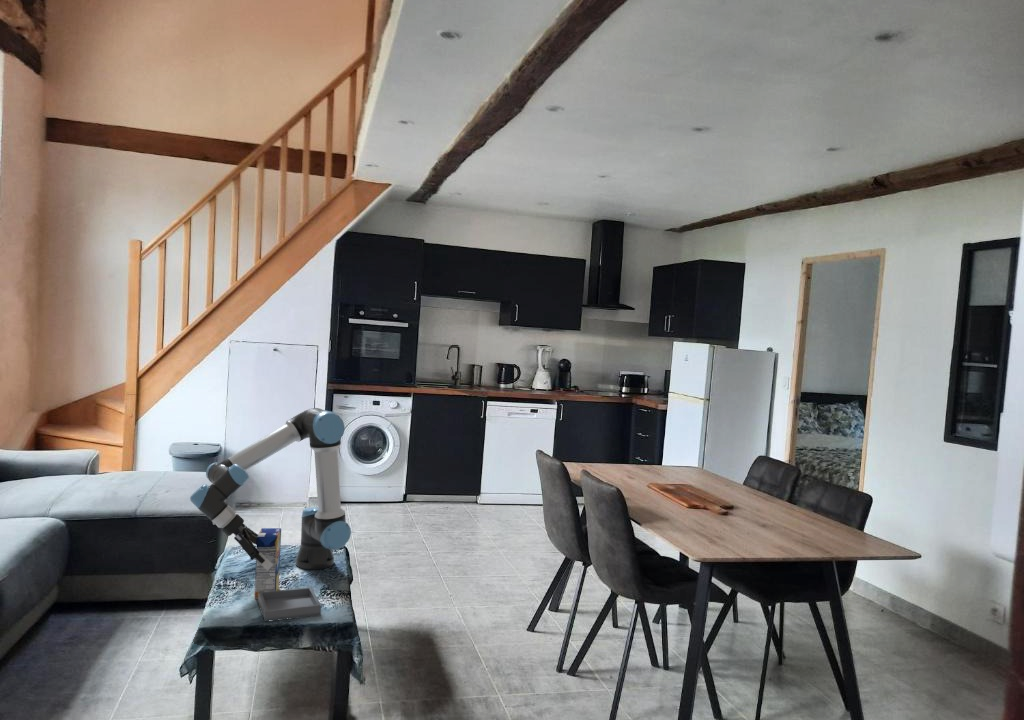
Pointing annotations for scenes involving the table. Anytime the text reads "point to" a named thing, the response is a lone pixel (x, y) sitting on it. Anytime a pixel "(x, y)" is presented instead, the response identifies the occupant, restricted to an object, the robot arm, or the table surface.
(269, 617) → the tray
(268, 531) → the beverage box
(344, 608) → the table surface
